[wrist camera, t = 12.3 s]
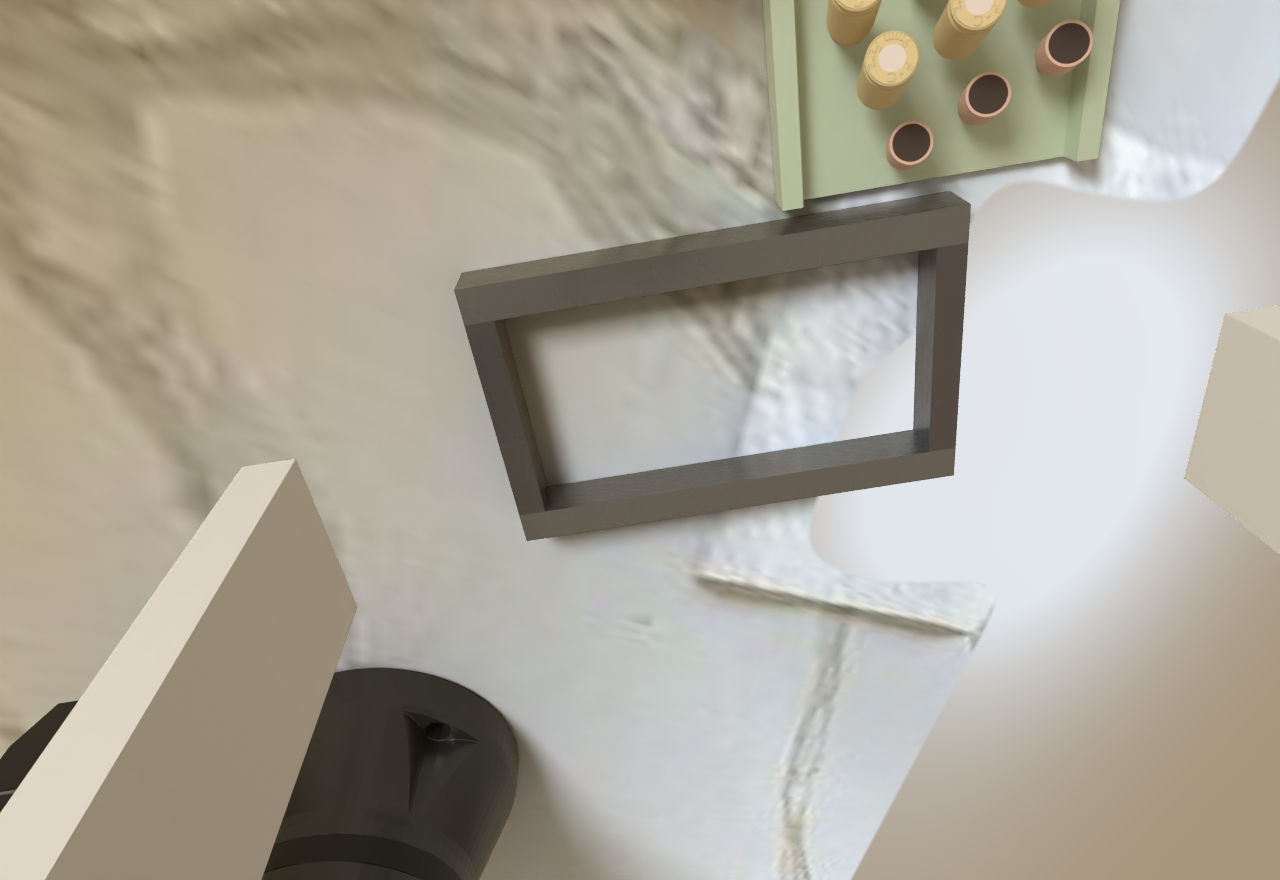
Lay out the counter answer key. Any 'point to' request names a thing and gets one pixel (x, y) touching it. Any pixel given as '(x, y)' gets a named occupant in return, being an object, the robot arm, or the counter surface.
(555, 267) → the gray rectangular frame
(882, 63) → the ammunition
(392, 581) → the counter surface
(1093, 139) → the tray pad
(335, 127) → the counter surface
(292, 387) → the counter surface
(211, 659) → the robot arm
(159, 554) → the counter surface
